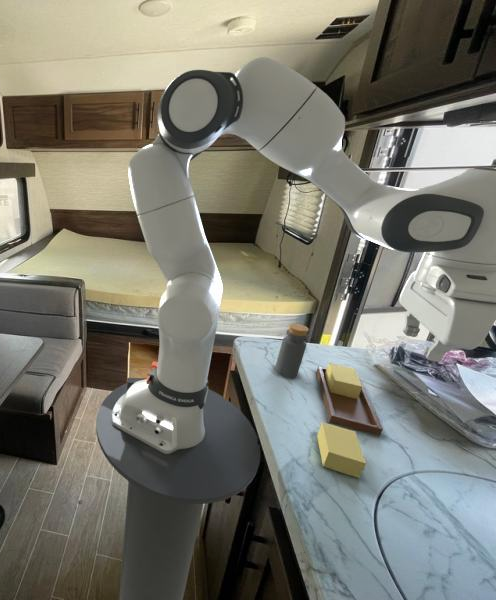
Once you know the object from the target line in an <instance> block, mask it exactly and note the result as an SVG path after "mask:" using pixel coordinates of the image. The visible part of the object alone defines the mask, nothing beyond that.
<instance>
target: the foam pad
mask: <svg viewBox="0 0 496 600" xmlns="http://www.w3.org/2000/svg"><path fill="white" fill-rule="evenodd" d="M316 438H317V443H318V447H319V452H320V458H321V463H322V464H321V465H322V467H324V468H326V469H329V470H333V471H336V472H338V473H342V474H344V475H348V476H351V477H354V478H357V479H360V477H361V476H362V473H363V472H364V469H365V467H366V466H367V462H366V459H365V455H364V453H363V449H362V447H361V445H360V441H359V439H358V436H357V432H356V431H355V430H353V429H349V428H346V427H345V428H344V427H342V426H341V427H340V426H339V425H335V424H332V423H331V424H330V423H326V422H324V421H322V422H321V424H320V426H319V429H318V431H317V433H316Z"/></svg>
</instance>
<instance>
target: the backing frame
mask: <svg viewBox="0 0 496 600" xmlns="http://www.w3.org/2000/svg"><path fill="white" fill-rule="evenodd" d="M326 370H327V367H323V366H319V365H318V366H317V369H316V373H315V374H316V377H317V381H318V384H319V388H320V392H321V396H322V400H323V403H324V407H325V411H326V415H327V420H328V422H329V424H330V423H331V424H333V425H336V426H341V427H343V428H344V427H345V428H347V429H351V430H354V431H355V430H356V431H359V432H363V433H366V434H370V435H372V436H377V437H380V436H381V435H382V433H383V430H384V429H383V427H382V424H381V423H380V419H379V418H378V415H377V413H376V411H375V409H374V406H373V405H372V402H371V400H370V398H369V396H368V393H367V391H366V389H365V387H364V385H363V383H362V381H361V378H360V376H359V375H358V374H357V376H358V378H359V380H360V382H361V384H362V389H361V392H360V394H359V397H358V399H355V398H351V397H347V396H343V395H339V394H335V393H331V392H330V390H329V387H328V383H327V380H326V377H325V373H326Z"/></svg>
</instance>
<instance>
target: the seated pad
mask: <svg viewBox="0 0 496 600" xmlns="http://www.w3.org/2000/svg"><path fill="white" fill-rule="evenodd" d="M326 368H327V370H326V373H325V377H326V380H327V383H328V387H329V390H330V392H331V393H335V394H339V395H343V396H347V397H351V398H355V399H358V397H359V394H360V392H361V389H362V385H363V383H362V381H361V382H360V380H361V379H360V380H359V378H360V377H359V378H358V376H359V375H358V373H357V371H356V369H355V368H353V367H349V366H344V365H339V364H335V363H331V362H329V363H328V364H327V367H326ZM357 375H358V376H357ZM361 383H362V384H361Z"/></svg>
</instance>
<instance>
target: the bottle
mask: <svg viewBox="0 0 496 600" xmlns="http://www.w3.org/2000/svg"><path fill="white" fill-rule="evenodd" d="M309 330H310V329H309V328H308V327H307V326H306V325H303V324H301V323H290V324H289V325H288V329H287V330H286V333H285V334H286V336H284V337H283V339H282V341H281V345H280V348H279V352H278V355H277V359H276V363H275V366H274V370H275V372H276V374H278V375H280V376H281V377H284V378H288V379H295V378H297V376H298V374H299V370H300V368H301V365H302V361H303V358H304V356H305V352H306V348H307V345H308V344H307V342H306V340H307V339H308V337H309V334H308V332H309Z"/></svg>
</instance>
